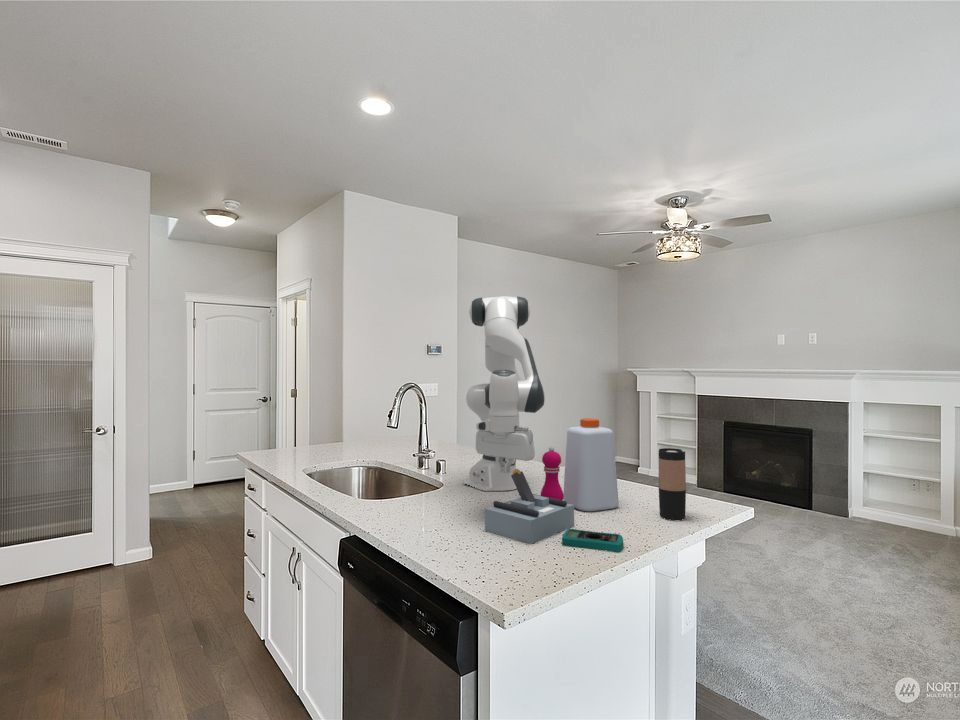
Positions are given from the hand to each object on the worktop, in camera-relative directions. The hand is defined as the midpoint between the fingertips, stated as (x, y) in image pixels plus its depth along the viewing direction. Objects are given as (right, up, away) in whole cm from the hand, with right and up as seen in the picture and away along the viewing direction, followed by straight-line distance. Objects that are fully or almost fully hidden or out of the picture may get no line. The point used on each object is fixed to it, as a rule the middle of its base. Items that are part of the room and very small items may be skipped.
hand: (504, 472), depth 147 cm
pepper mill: (+16, -15, +11) cm, 24 cm away
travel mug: (+50, -14, +3) cm, 53 cm away
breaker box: (+7, -14, -6) cm, 17 cm away
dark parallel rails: (+7, -8, -6) cm, 12 cm away
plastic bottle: (+29, -15, +17) cm, 36 cm away
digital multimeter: (+21, -15, -19) cm, 32 cm away
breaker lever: (+7, -7, -6) cm, 12 cm away
